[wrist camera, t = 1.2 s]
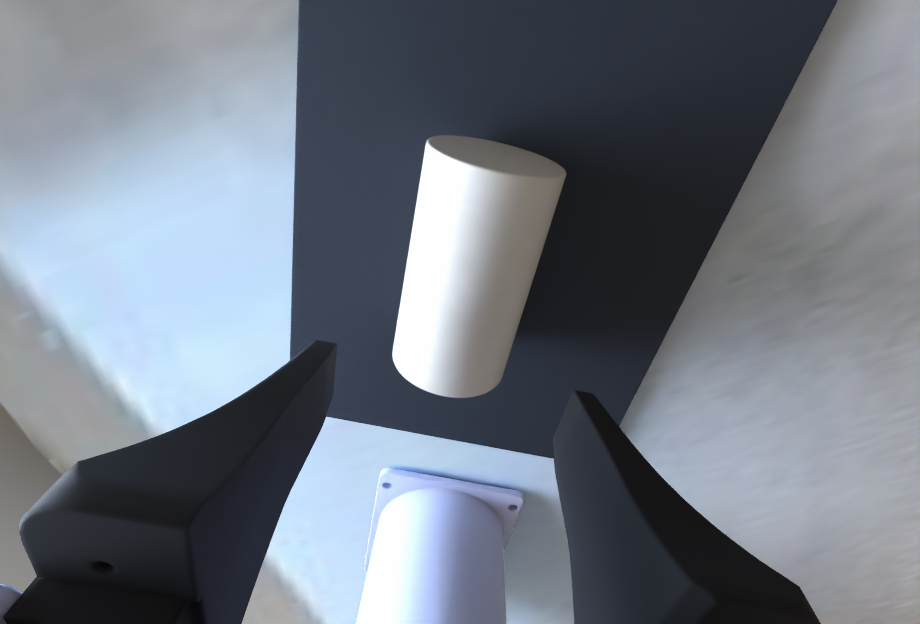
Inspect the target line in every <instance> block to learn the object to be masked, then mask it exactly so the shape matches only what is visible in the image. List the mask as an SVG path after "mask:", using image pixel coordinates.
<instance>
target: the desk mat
mask: <svg viewBox="0 0 920 624" xmlns="http://www.w3.org/2000/svg"><path fill="white" fill-rule="evenodd" d="M836 2H837V0H299V19H298V60H297V100H296V141H295V182H294V222H293V263H292V303H291V344H290V360H292V359H293V358H294V357H295V356H297V355H298V354H299V353H300V352H301V351H303V350H304V349H305V348H306V347H308V346H309V345H310V344H311V343H312V342H314V341H315V340H322V341H327V342H332V343H337V356H336V367H335V378H334V390H333V398H332V401H331V403H330V406H329V409H328V412H327V415H326V416H327V417H332V418H338V419H343V420H348V421H354V422H359V423H365V424H370V425H375V426H381V427H386V428H392V429H397V430H402V431H408V432H413V433H419V434H424V435H429V436H435V437H440V438H446V439H451V440H456V441H462V442H467V443H473V444H478V445H483V446H489V447H494V448H500V449H505V450H510V451H516V452H521V453H527V454H532V455H537V456H543V457H548V458H554V444H553V437H554V435H555V433H556V430H557V428H558V426H559V423H560V421H561V418H562V416H563V414H564V411H565V409H566V407H567V404H568V402H569V400H570V397H571V395H572V393H573V390H578V391H583V392H588V393H593V394H594V395H595V396H596V398H597V399H598V400H599V401H600V403H601V404H602V405H603V407H604V408H605V409H606V410H607V412H608V413H609V414H610V416H611V417H612V418H613V420H614V421H615V422H616V424H617V425H618V426H619V425H620V423H621V421H622V419H623V417H624V415H625V413H626V411H627V409H628V407H629V406H630V404H631V402H632V400H633V398H634V396H635V394H636V392H637V390H638V388H639V386H640V384H641V382H642V380H643V378H644V376H645V374H646V372H647V370H648V369H649V367H650V365H651V363H652V361H653V359H654V357H655V355H656V353H657V351H658V349H659V347H660V345H661V343H662V341H663V339H664V337H665V335H666V333H667V332H668V330H669V328H670V326H671V324H672V322H673V320H674V318H675V316H676V314H677V312H678V310H679V308H680V306H681V304H682V302H683V300H684V298H685V296H686V295H687V293H688V291H689V289H690V287H691V285H692V283H693V281H694V279H695V277H696V275H697V273H698V271H699V269H700V267H701V265H702V263H703V261H704V259H705V258H706V256H707V254H708V252H709V250H710V248H711V246H712V244H713V242H714V240H715V238H716V236H717V234H718V232H719V230H720V228H721V226H722V224H723V222H724V221H725V219H726V217H727V215H728V213H729V211H730V209H731V207H732V205H733V203H734V201H735V199H736V197H737V195H738V193H739V191H740V189H741V187H742V185H743V184H744V182H745V180H746V178H747V176H748V174H749V172H750V170H751V168H752V166H753V164H754V162H755V160H756V158H757V156H758V154H759V152H760V150H761V148H762V147H763V145H764V143H765V141H766V139H767V137H768V135H769V133H770V131H771V129H772V127H773V125H774V123H775V121H776V119H777V117H778V115H779V113H780V111H781V110H782V108H783V106H784V104H785V102H786V100H787V98H788V96H789V94H790V92H791V90H792V88H793V86H794V84H795V82H796V80H797V78H798V76H799V74H800V73H801V71H802V69H803V67H804V65H805V63H806V61H807V59H808V57H809V55H810V53H811V51H812V49H813V47H814V45H815V43H816V41H817V39H818V37H819V36H820V34H821V32H822V30H823V28H824V26H825V24H826V22H827V20H828V18H829V16H830V14H831V12H832V10H833V8H834V6H835V4H836ZM441 135H454V136H465V137H473V138H479V139H484V140H490V141H494V142H499V143H503V144H507V145H511V146H514V147H518V148H521V149H524V150H527V151H530V152H533V153H536V154H538V155H541V156H543V157H545V158H548V159H550V160H552V161H554V162H555V163H557V164H558V165H560V166H561V167H562V168H564V170H565V171H566V177H565V180H564V184H563V187H562V190H561V193H560V196H559V199H558V202H557V206H556V209H555V212H554V215H553V218H552V221H551V224H550V228H549V231H548V234H547V237H546V240H545V243H544V247H543V250H542V253H541V256H540V259H539V262H538V265H537V269H536V272H535V275H534V278H533V281H532V284H531V287H530V291H529V294H528V297H527V300H526V303H525V306H524V309H523V313H522V316H521V319H520V322H519V325H518V328H517V332H516V335H515V338H514V341H513V344H512V347H511V350H510V354H509V357H508V360H507V363H506V366H505V369H504V372H503V376H502V379H501V380H500V382H499V383H498V385H497V386H496V387H495V388H493V389H492V390H491V391H489V392H487V393H485V394H482V395H479V396H475V397H468V398H453V397H445V396H441V395H436V394H433V393H430V392H427V391H425V390H423V389H421V388H419V387H417V386H415V385H414V384H412V383H411V382H409V381H408V380H407V379H406V378H404V377H403V376H402V374H401V373H400V372H399V371H398V369H397V368H396V366H395V364H394V361H393V355H392V352H393V346H394V339H395V333H396V327H397V321H398V314H399V308H400V302H401V296H402V290H403V283H404V277H405V271H406V265H407V258H408V252H409V246H410V240H411V234H412V227H413V221H414V215H415V209H416V203H417V196H418V190H419V184H420V178H421V171H422V165H423V159H424V153H425V147H426V141H427V140H428V139H429V138H431V137H434V136H441Z"/></svg>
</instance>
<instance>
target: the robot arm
mask: <svg viewBox="0 0 920 624" xmlns="http://www.w3.org/2000/svg"><path fill="white" fill-rule="evenodd" d="M336 356H337V343H332V342H327V341H322V340H315V341H314V342H312V343H311V344H310V345H309V346H308V347H306V348H305V349H304V350H303V351H301V352H300V353H299V354H298V355H297V356H295V357H294V358H293V359H292V360H290V361H289V362H288V363H287V364H285V365H284V366H283V367H281V368H280V369H279V370H277V371H276V372H274V373H273V374H272V375H270V376H269V377H268V378H266V379H265V380H263V381H262V382H260V383H259V384H257V385H256V386H254V387H253V388H251V389H250V390H248V391H247V392H245V393H244V394H242V395H241V396H239V397H237V398H236V399H234V400H232V401H231V402H229V403H227V404H225V405H224V406H222V407H220V408H218V409H216V410H215V411H213V412H211V413H209V414H207V415H205V416H202V417H200V418H198V419H196V420H194V421H191V422H189V423H187V424H185V425H183V426H181V427H178V428H176V429H174V430H171V431H169V432H166V433H164V434H161V435H159V436H156V437H154V438H151V439H148V440H145V441H143V442H140V443H137V444H134V445H131V446H128V447H125V448H122V449H119V450H116V451H112V452H109V453H106V454H102V455H99V456H96V457H92V458H89V459H86V460H82V461H78V462H77V463H76V464H75V465H74V466H73V467H72V468H71V469H69V470H68V471H67V472H66V473H65V474H64V475H63V476H62V477H61V478H60V479H59V480H58V481H57V482H56V483H55V484H54V485H53V486H52V487H51V488H50V489H49V490H48V491H47V492H46V493H45V494H44V495H43V496H42V497H41V498H40V500H39V501H37V503H36V504H35V505H34V506H33V507H32V508H31V509H30V510H29V511H28V512H27V513H26V514H25V515H24V516H23V517H22V519H21V522H20V525H19V531H20V536H21V540H22V543H23V546H24V548H25V550H26V552H27V554H28V557H29V559H30V561H31V563H32V566H33V568H34V570H35V572H36V575H37V577H36V578H35V579H34V581H33V582H32V583H31V584H30V586H29V587H28V588H27V589H26V590H25V591H24V593H23V594H22V593H21V592H20V591H19V590H18V589H16V588H14V587H12V586H9V585H5V584H1V583H0V624H241V623H242V620H243V617H244V614H245V611H246V608H247V606H248V603H249V600H250V597H251V594H252V591H253V588H254V586H255V583H256V580H257V577H258V574H259V571H260V568H261V566H262V563H263V560H264V558H265V555H266V552H267V549H268V547H269V544H270V541H271V538H272V536H273V533H274V530H275V528H276V525H277V522H278V520H279V517H280V515H281V512H282V509H283V507H284V504H285V502H286V500H287V497H288V495H289V493H290V491H291V489H292V487H293V485H294V483H295V481H296V479H297V477H298V475H299V473H300V471H301V469H302V467H303V465H304V463H305V461H306V459H307V457H308V455H309V453H310V451H311V449H312V446H313V444H314V442H315V440H316V438H317V436H318V434H319V432H320V430H321V428H322V426H323V423H324V421H325V418H326V415H327V412H328V409H329V406H330V403H331V401H332V398H333V390H334V378H335V367H336ZM553 444H554V465H555V473H556V479H557V485H558V490H559V496H560V501H561V506H562V512H563V517H564V522H565V528H566V533H567V539H568V546H569V553H570V564H571V576H572V589H573V605H574V622H575V624H821V623H820V622H819V620H818V618H817V616H816V615H815V613H814V611H813V609H812V608H811V606H810V604H809V602H808V601H807V599H806V597H805V595H804V594H803V592H802V590H801V589H800V587H799V586H797V585H796V584H794V583H793V582H791V581H790V580H788V579H787V578H785V577H784V576H782V575H781V574H779V573H778V572H776V571H775V570H773V569H772V568H770V567H769V566H767V565H766V564H764V563H763V562H761V561H760V560H758V559H757V558H756V557H754V556H753V555H751V554H750V553H749V552H747V551H746V550H745V549H743V548H742V547H741V546H739V545H738V544H737V543H735V542H734V541H733V540H731V539H730V538H729V537H727V536H726V535H725V534H724V533H722V532H721V531H720V530H719V529H717V528H716V527H715V526H714V525H713V524H711V523H710V522H709V521H708V520H707V519H706V518H704V517H703V516H702V515H701V514H700V513H699V512H697V511H696V510H695V509H694V508H693V507H692V506H691V505H690V504H688V503H687V502H686V501H685V500H684V499H683V498H682V497H681V496H680V495H679V494H678V493H677V492H676V491H675V490H674V489H673V488H672V487H671V486H670V485H669V484H668V483H667V482H666V481H665V480H664V479H663V478H662V477H661V476H660V475H659V474H658V473H657V472H656V471H655V469H654V468H653V467H652V466H651V465H650V464H649V463H648V462H647V460H646V459H645V458H644V457H643V456H642V455H641V453H640V452H639V451H638V450H637V449H636V448H635V446H634V445H633V444H632V443H631V441H630V440H629V439H628V438H627V436H626V435H625V434H624V433H623V431H622V430H621V429H620V427H619V426H618V425H617V424H616V422H615V421H614V420H613V418H612V417H611V416H610V414H609V413H608V412H607V410H606V409H605V408H604V407H603V405H602V404H601V403H600V401H599V400H598V399H597V398H596V396H595V395H594V394H593V393H588V392H583V391H578V390H573V393H572V395H571V397H570V400H569V402H568V404H567V407H566V409H565V411H564V414H563V416H562V418H561V421H560V423H559V426H558V428H557V430H556V433H555V435H554V437H553ZM387 482H388V483H387ZM523 504H524V495H523V494H522V493H521V492H519V491H516V490H510V489H505V488H499V487H494V486H488V485H483V484H477V483H471V482H466V481H460V480H455V479H449V478H444V477H438V476H433V475H427V474H422V473H416V472H410V471H405V470H399V469H394V468H385V469H383V470H382V471H381V473H380V477H379V483H378V488H377V494H376V500H375V506H374V512H373V517H372V523H371V529H370V535H369V541H368V546H367V552H366V558H365V564H364V570H365V571H366V572H367V576H366V581H365V585H364V590H363V594H362V598H361V603H360V607H359V612H358V616H357V621H356V624H506V602H505V574H504V549H505V547H506V544H507V542H508V540H509V537H510V535H511V532H512V530H513V528H514V525H515V523H516V521H517V518H518V516H519V513H520V511H521V509H522V506H523Z"/></svg>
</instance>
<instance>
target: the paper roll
mask: <svg viewBox="0 0 920 624" xmlns="http://www.w3.org/2000/svg"><path fill="white" fill-rule="evenodd" d="M565 177H566V171H565V170H564V168H562V167H561V166H560V165H558V164H557V163H555V162H554V161H552V160H550V159H548V158H545V157H543V156H541V155H538V154H536V153H533V152H530V151H527V150H524V149H521V148H518V147H514V146H511V145H507V144H503V143H499V142H494V141H490V140H484V139H479V138H473V137H465V136H454V135H441V136H434V137H431V138H429V139H428V140H427V141H426V147H425V153H424V159H423V165H422V171H421V178H420V184H419V190H418V196H417V203H416V209H415V215H414V221H413V227H412V234H411V240H410V246H409V252H408V258H407V265H406V271H405V277H404V283H403V290H402V296H401V302H400V308H399V314H398V321H397V327H396V333H395V339H394V346H393V352H392V355H393V361H394V364H395V366H396V368H397V369H398V371H399V372H400V373H401V374H402V376H403V377H404V378H406V379H407V380H408V381H409V382H411V383H412V384H414V385H415V386H417V387H419V388H421V389H423V390H425V391H427V392H430V393H433V394H436V395H441V396H445V397H453V398H468V397H475V396H479V395H482V394H485V393H487V392H489V391H491V390H492V389H493V388H495V387H496V386H497V385H498V383H499V382H500V380H501V379H502V376H503V372H504V369H505V366H506V363H507V360H508V357H509V354H510V350H511V347H512V344H513V341H514V338H515V335H516V332H517V328H518V325H519V322H520V319H521V316H522V313H523V309H524V306H525V303H526V300H527V297H528V294H529V291H530V287H531V284H532V281H533V278H534V275H535V272H536V269H537V265H538V262H539V259H540V256H541V253H542V250H543V247H544V243H545V240H546V237H547V234H548V231H549V228H550V224H551V221H552V218H553V215H554V212H555V209H556V206H557V202H558V199H559V196H560V193H561V190H562V187H563V184H564V180H565Z"/></svg>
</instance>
